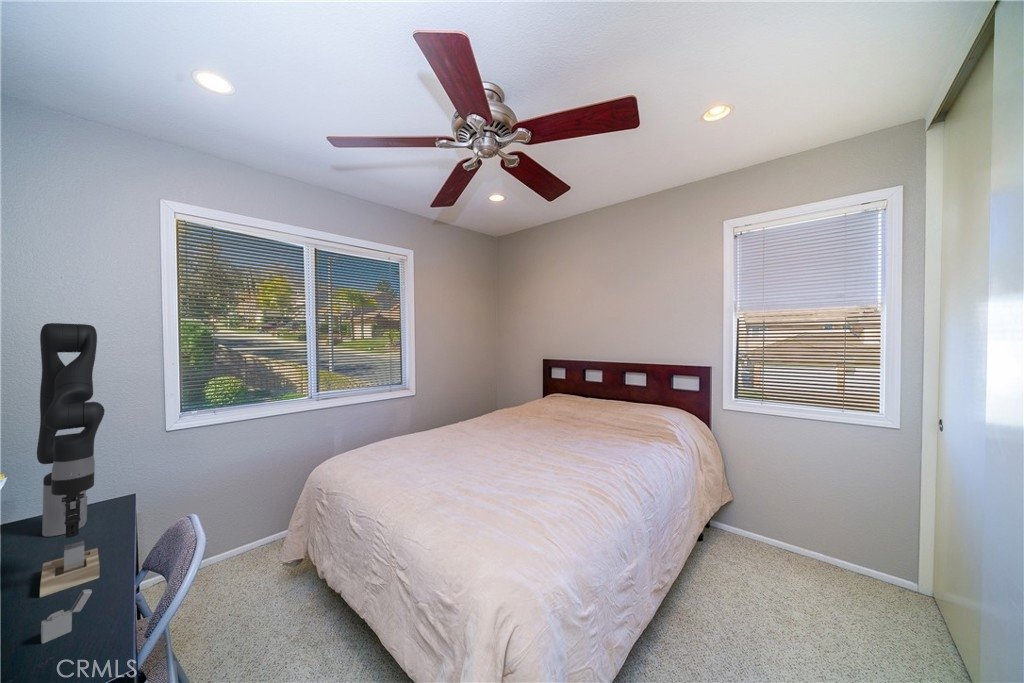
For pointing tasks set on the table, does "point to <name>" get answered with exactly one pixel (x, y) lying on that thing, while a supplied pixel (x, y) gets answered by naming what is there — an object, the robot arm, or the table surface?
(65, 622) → the lighter
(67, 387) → the robot arm
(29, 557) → the table surface
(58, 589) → the holder
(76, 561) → the grey rectangular block
